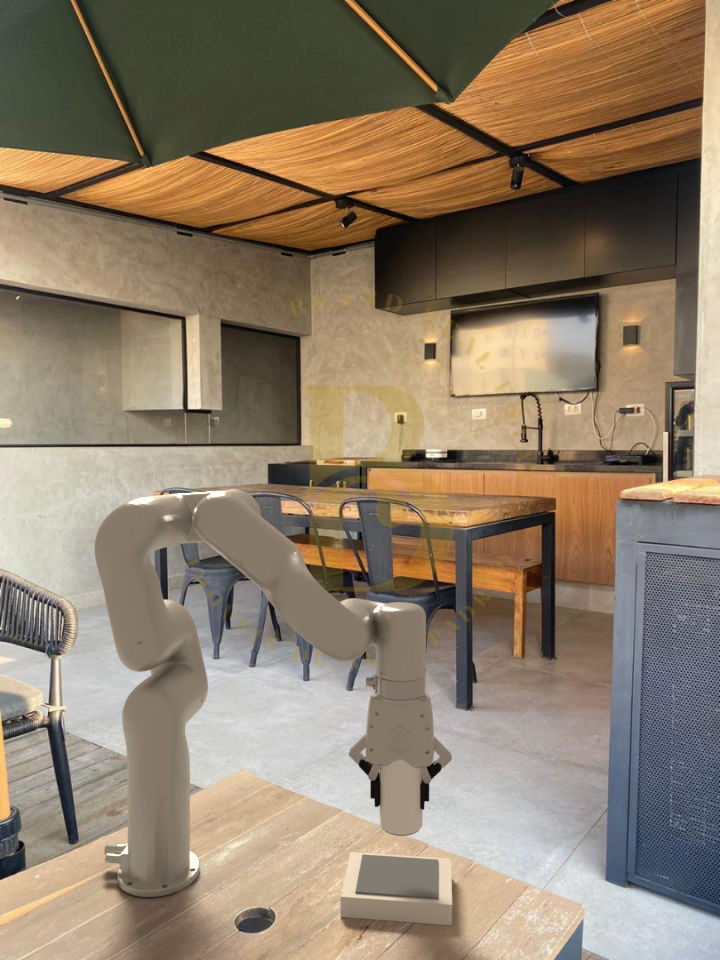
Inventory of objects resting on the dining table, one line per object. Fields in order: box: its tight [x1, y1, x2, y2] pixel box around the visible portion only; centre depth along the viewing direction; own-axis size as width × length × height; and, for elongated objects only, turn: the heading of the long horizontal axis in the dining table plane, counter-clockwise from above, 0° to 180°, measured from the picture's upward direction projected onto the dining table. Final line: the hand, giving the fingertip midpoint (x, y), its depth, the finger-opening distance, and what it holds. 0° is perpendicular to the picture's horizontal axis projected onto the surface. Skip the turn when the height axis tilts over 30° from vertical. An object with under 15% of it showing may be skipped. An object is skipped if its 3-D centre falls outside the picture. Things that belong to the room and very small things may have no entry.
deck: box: [340, 851, 453, 926], centre depth 111 cm, size 16×12×3 cm
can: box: [379, 760, 424, 837], centre depth 110 cm, size 6×6×12 cm
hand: (399, 803), depth 110 cm, fingers closed on can, 6 cm apart
